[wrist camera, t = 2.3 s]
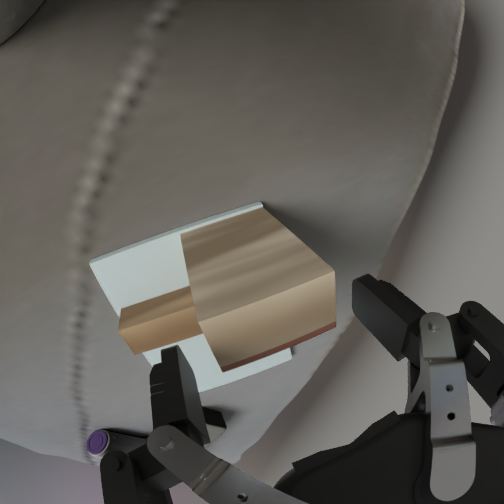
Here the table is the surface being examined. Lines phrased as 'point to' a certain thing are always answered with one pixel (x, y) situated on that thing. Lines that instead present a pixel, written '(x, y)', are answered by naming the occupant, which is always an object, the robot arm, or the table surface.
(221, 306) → the wooden block
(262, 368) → the silicone mat
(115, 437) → the infrared thermometer
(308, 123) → the table surface
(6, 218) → the table surface
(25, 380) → the table surface
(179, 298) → the rail
